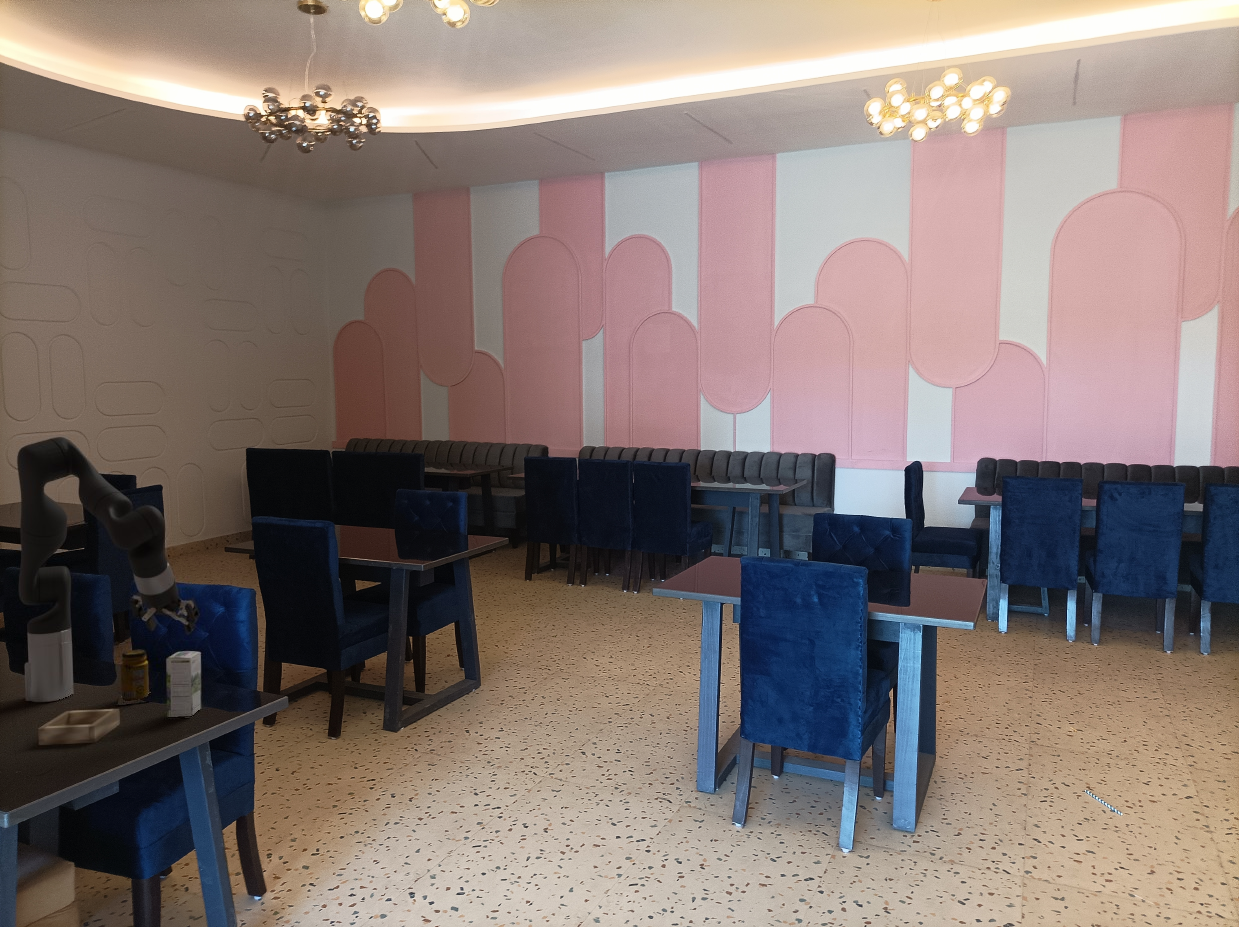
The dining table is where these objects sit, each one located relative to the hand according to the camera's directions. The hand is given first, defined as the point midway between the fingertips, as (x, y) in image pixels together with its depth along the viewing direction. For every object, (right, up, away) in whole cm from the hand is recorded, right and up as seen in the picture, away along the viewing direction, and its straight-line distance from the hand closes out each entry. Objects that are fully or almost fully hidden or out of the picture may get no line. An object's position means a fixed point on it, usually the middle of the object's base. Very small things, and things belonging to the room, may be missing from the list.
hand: (171, 629), depth 200 cm
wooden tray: (-14, -21, -12) cm, 28 cm away
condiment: (-16, -20, +12) cm, 29 cm away
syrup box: (+2, -21, +1) cm, 21 cm away
